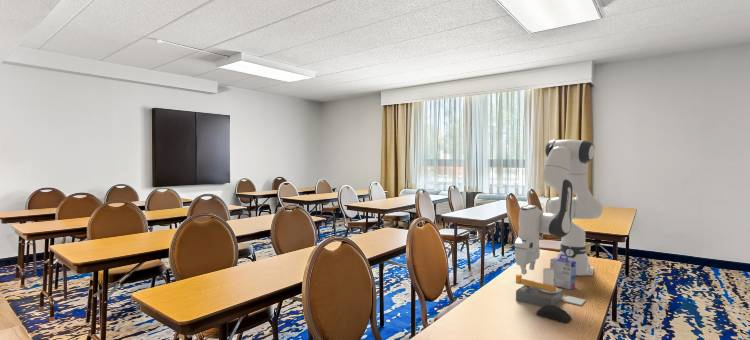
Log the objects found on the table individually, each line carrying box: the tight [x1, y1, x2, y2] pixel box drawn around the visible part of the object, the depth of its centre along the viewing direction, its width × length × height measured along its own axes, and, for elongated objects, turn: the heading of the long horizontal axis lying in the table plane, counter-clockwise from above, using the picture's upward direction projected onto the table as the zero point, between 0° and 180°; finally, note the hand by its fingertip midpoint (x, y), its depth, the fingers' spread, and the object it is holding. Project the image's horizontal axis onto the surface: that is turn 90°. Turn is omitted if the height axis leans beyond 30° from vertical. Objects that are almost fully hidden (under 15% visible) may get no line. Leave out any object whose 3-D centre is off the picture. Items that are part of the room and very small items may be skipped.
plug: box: [538, 267, 558, 294], centre depth 161 cm, size 8×8×13 cm
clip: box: [515, 273, 557, 292], centre depth 161 cm, size 2×16×4 cm, turn 48°
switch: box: [515, 285, 564, 308], centre depth 162 cm, size 15×14×5 cm
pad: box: [562, 295, 586, 307], centre depth 160 cm, size 7×7×1 cm
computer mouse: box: [536, 305, 572, 325], centre depth 144 cm, size 6×11×4 cm, turn 45°
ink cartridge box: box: [549, 254, 577, 290], centre depth 178 cm, size 10×6×14 cm, turn 41°
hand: (527, 271), depth 173 cm, fingers open, 8 cm apart
